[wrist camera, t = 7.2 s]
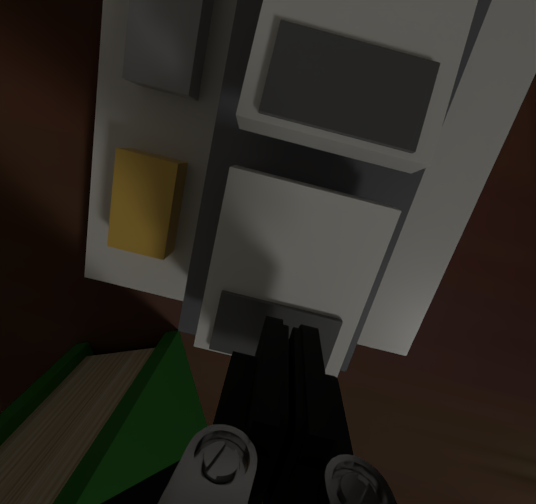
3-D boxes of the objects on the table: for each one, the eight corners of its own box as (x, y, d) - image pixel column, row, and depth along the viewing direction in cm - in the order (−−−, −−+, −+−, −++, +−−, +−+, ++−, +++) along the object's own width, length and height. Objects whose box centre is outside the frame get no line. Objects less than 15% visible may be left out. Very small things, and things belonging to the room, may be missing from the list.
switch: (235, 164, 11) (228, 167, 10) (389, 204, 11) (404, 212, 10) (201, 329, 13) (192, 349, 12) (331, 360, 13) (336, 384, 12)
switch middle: (293, -99, 9) (298, -156, 8) (473, -48, 10) (508, -96, 8) (239, 129, 10) (235, 112, 8) (411, 173, 10) (434, 164, 9)
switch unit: (148, -394, 12) (6, -960, 6) (658, -239, 12) (1012, -611, 6) (95, 269, 20) (16, 319, 14) (399, 344, 20) (445, 423, 15)
